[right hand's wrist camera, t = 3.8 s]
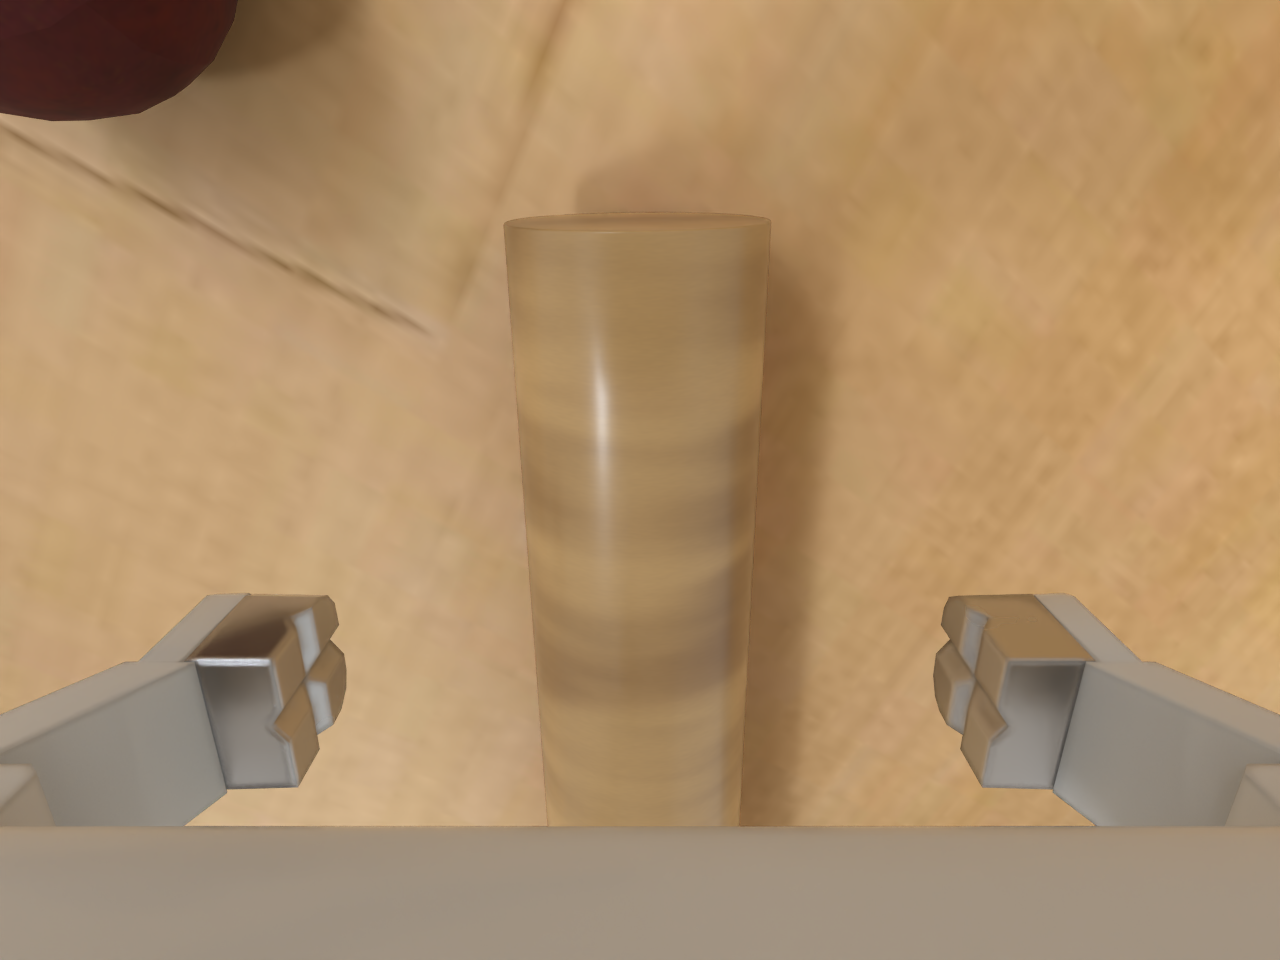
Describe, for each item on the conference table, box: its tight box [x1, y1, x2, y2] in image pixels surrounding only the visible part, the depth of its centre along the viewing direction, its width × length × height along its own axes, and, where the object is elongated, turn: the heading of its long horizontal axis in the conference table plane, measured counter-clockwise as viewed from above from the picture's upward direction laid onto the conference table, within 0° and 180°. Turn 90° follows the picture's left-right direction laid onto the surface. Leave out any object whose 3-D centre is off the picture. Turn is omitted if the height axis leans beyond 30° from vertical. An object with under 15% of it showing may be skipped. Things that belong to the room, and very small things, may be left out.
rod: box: [504, 212, 771, 826], centre depth 22 cm, size 24×6×6 cm, turn 0°
